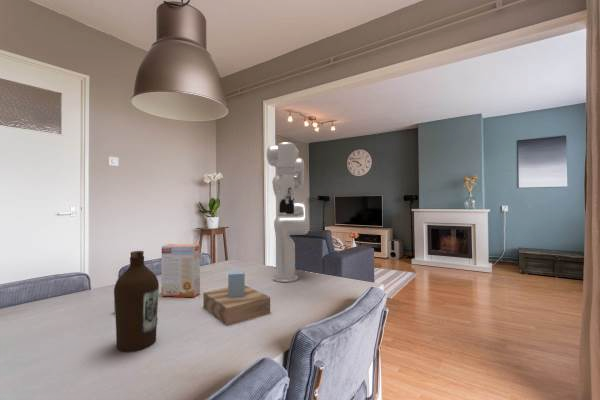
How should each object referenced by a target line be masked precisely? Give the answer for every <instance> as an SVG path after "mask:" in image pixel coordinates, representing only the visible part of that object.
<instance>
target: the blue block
mask: <svg viewBox="0 0 600 400" xmlns="http://www.w3.org/2000/svg"><path fill="white" fill-rule="evenodd" d="M227 274H228V278H227V280H228V281H227V282H228V283H227V284H228V298H231V297H244V296H245V286H246V284H245V269H236V270H235V269H234V270H228V273H227Z"/></svg>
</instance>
